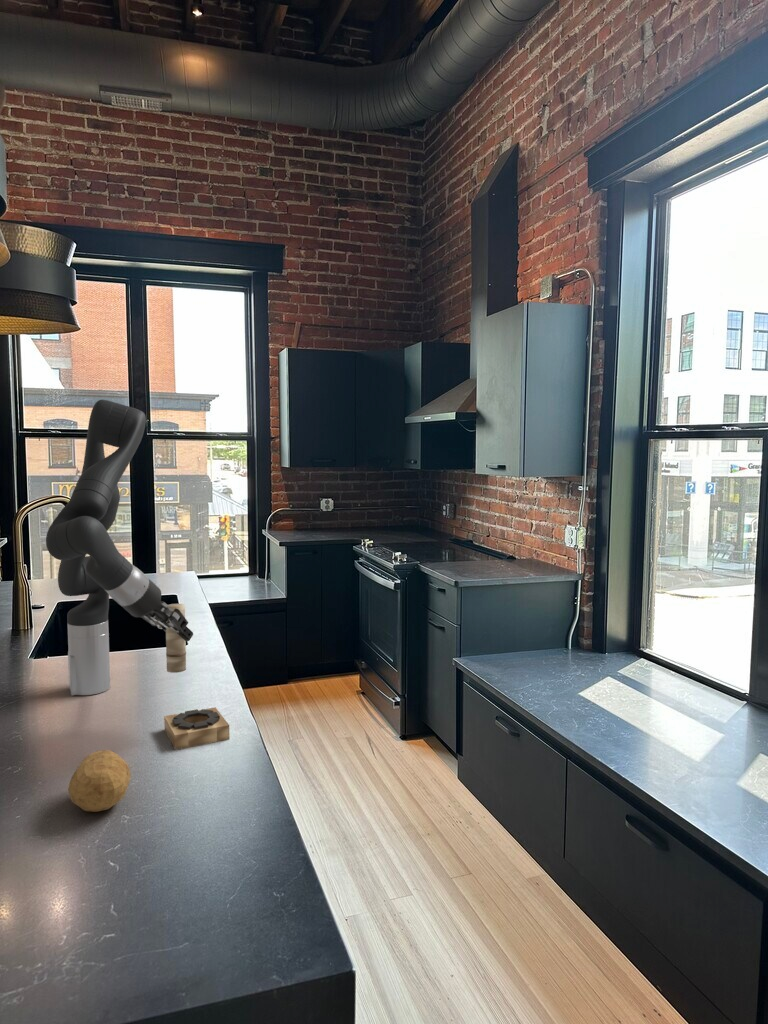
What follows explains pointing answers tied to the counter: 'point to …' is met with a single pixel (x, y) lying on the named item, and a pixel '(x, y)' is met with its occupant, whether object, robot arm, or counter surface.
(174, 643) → the dowel
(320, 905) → the counter surface
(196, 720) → the socket
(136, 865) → the counter surface
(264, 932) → the counter surface
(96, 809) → the potato
